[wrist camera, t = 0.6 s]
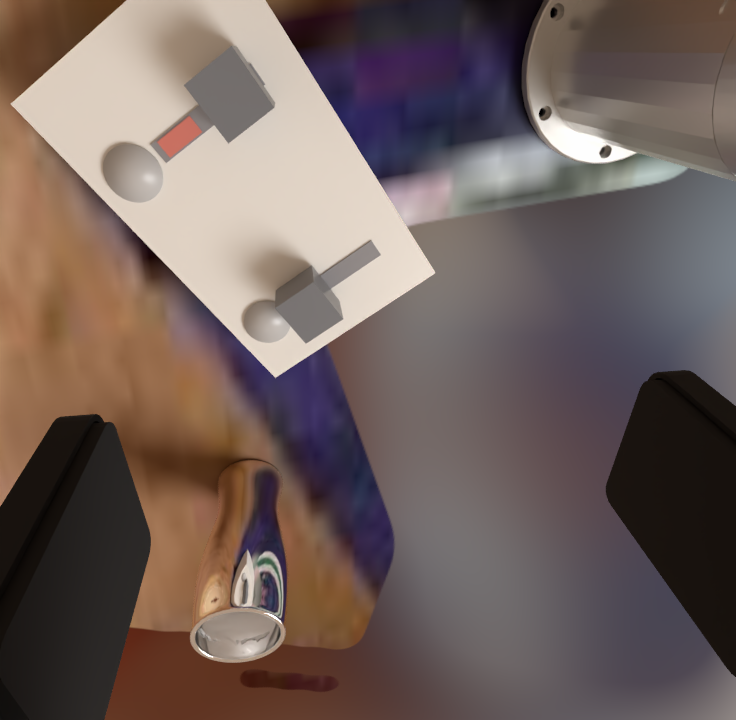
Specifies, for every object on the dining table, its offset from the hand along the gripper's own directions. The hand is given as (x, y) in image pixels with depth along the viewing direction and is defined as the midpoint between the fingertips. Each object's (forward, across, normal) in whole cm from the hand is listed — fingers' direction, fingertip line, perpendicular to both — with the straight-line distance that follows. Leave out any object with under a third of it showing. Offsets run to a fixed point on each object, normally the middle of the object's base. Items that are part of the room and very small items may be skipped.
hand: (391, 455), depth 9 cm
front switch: (+25, +4, -4) cm, 26 cm away
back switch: (+25, +1, +8) cm, 26 cm away
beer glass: (+29, +8, +29) cm, 42 cm away
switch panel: (+29, +4, +2) cm, 30 cm away
